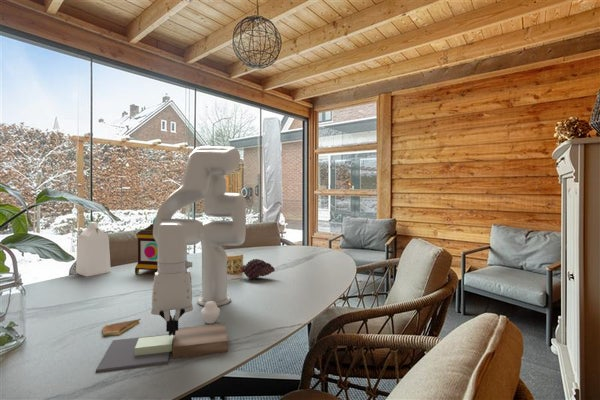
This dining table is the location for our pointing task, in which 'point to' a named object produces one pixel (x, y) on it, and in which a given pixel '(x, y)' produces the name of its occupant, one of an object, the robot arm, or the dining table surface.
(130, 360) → the mat
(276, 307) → the dining table surface
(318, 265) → the dining table surface
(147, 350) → the pale green block
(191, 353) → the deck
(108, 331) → the shard
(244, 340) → the dining table surface
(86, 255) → the milk
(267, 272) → the pine cone
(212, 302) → the white swirled ornament
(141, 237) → the decorative lantern
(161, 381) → the dining table surface
